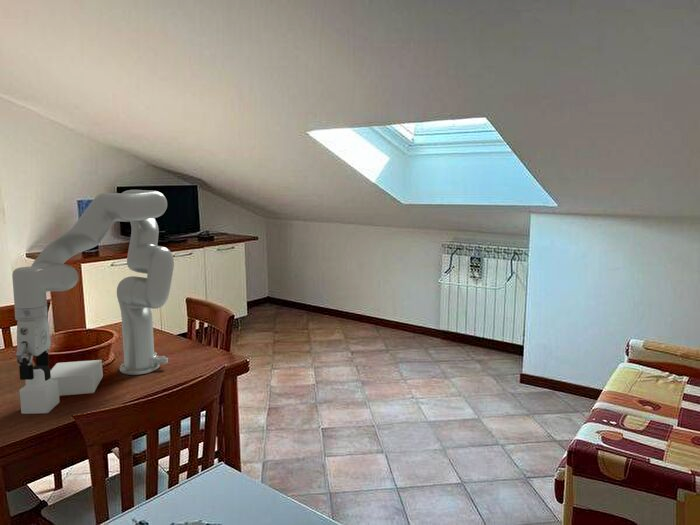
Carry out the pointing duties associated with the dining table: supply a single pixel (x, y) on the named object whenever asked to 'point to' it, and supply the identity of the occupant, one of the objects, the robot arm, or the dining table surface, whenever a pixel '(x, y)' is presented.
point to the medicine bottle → (39, 392)
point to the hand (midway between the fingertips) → (35, 372)
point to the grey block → (77, 376)
